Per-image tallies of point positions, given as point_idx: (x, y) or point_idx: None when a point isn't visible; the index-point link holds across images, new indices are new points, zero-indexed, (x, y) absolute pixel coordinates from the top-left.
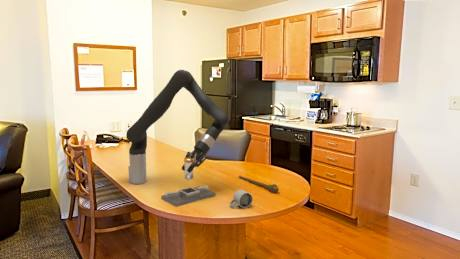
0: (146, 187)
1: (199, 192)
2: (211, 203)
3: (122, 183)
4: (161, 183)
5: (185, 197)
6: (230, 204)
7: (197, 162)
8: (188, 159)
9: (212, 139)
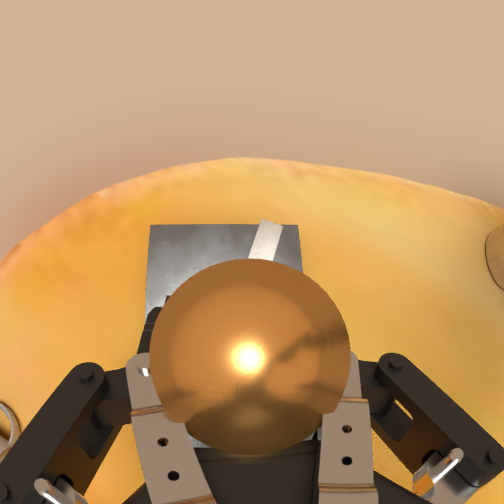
0: (451, 254)
1: None
2: None
3: (498, 211)
4: (469, 332)
5: None
6: (3, 409)
7: (55, 395)
8: (200, 318)
9: None
